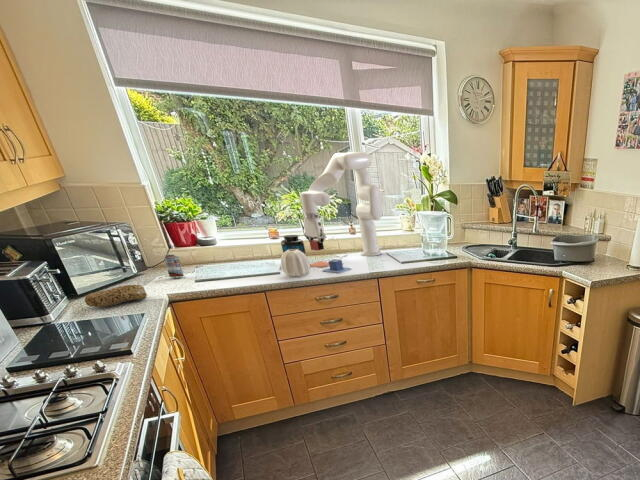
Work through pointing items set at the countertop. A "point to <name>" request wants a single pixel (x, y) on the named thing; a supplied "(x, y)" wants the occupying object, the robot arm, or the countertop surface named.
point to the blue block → (335, 265)
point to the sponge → (115, 296)
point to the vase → (295, 263)
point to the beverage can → (173, 266)
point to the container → (292, 243)
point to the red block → (314, 245)
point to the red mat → (320, 264)
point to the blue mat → (336, 271)
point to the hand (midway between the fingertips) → (317, 248)
